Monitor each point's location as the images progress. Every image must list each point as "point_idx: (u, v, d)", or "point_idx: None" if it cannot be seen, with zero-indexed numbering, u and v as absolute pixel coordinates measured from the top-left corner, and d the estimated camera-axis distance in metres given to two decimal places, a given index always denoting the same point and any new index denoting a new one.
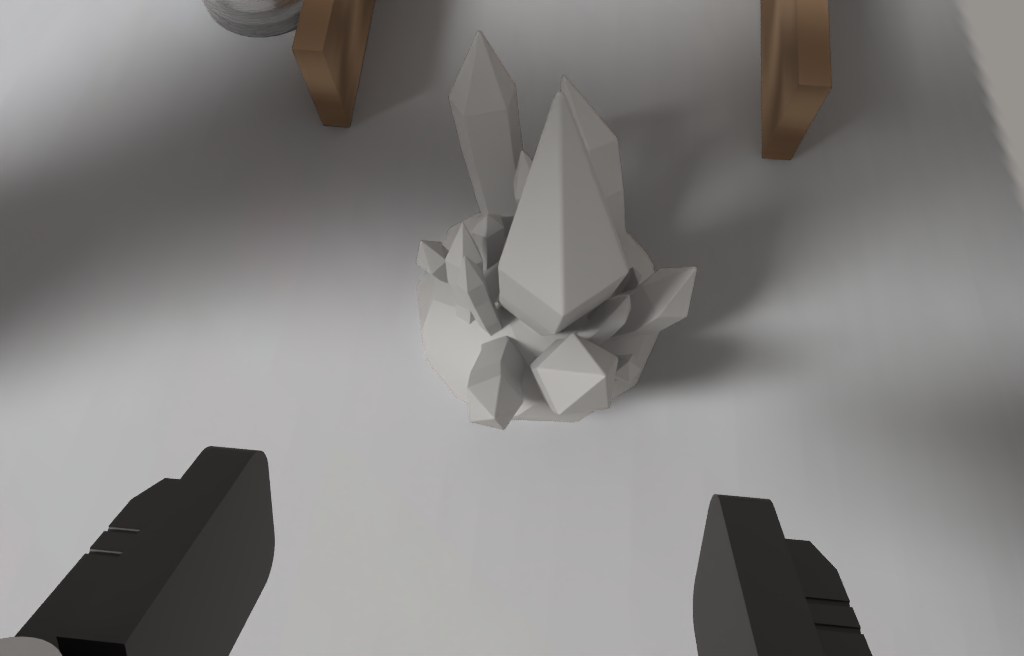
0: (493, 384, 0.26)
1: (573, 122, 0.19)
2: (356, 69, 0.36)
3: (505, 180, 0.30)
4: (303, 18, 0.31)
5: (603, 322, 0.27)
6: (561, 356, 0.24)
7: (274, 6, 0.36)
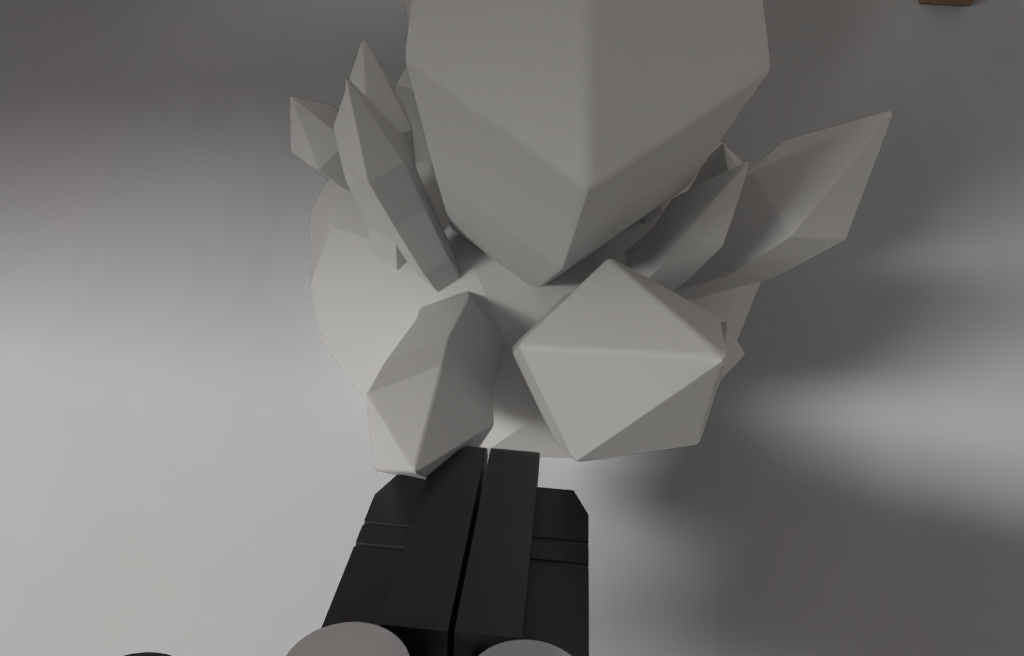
0: (423, 387, 0.11)
1: None
2: None
3: None
4: None
5: (671, 247, 0.12)
6: (580, 314, 0.09)
7: None
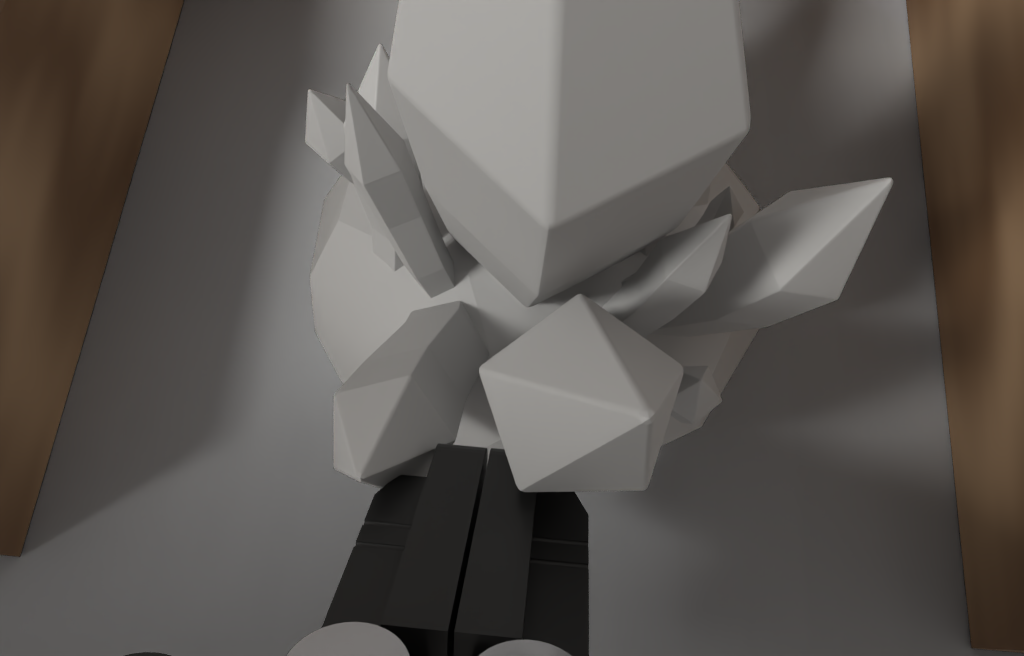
0: (388, 395, 0.11)
1: None
2: (42, 417, 0.16)
3: None
4: None
5: (655, 286, 0.12)
6: (539, 347, 0.09)
7: None
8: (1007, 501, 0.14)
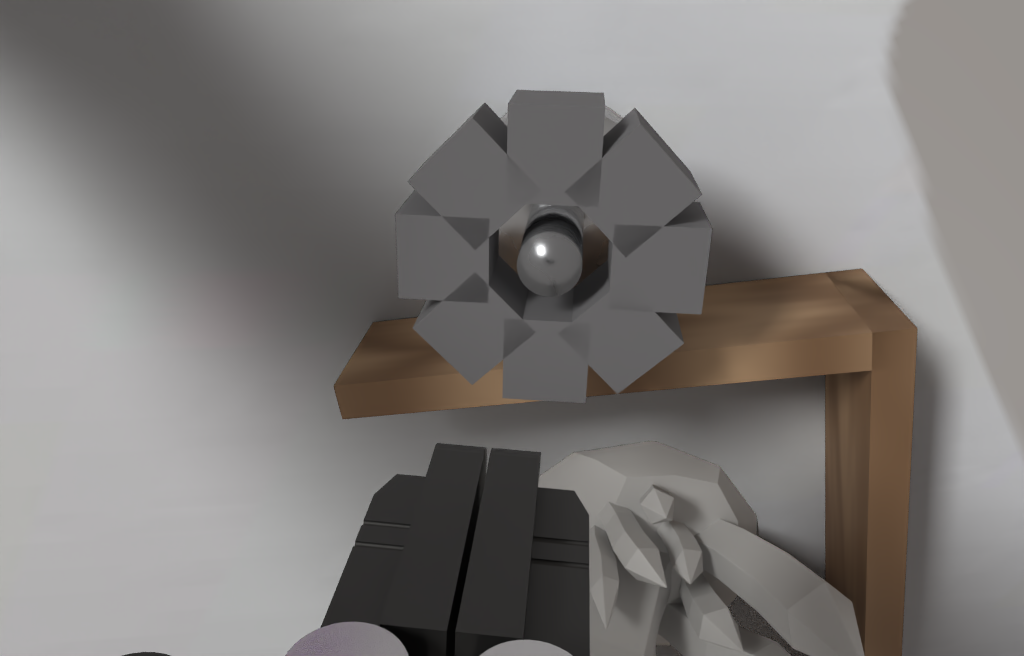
0: None
1: None
2: None
3: (738, 587, 0.28)
4: (379, 386, 0.25)
5: None
6: None
7: None
8: None
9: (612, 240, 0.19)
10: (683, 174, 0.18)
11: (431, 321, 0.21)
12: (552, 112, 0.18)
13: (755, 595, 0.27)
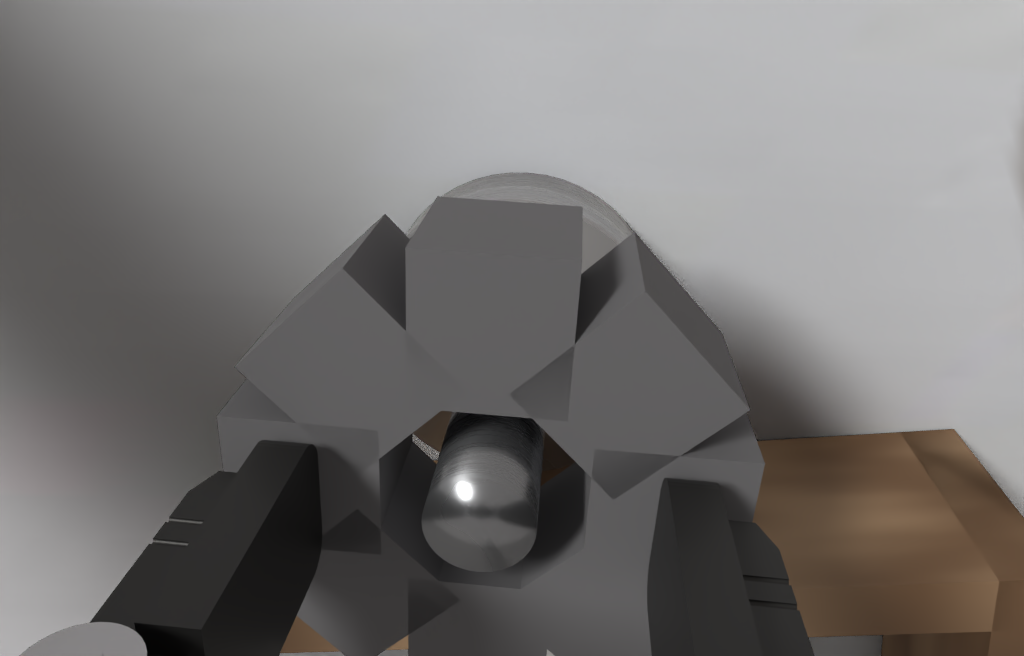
0: None
1: None
2: None
3: None
4: None
5: None
6: None
7: None
8: None
9: (590, 474, 0.11)
10: (719, 376, 0.10)
11: None
12: (485, 266, 0.10)
13: None
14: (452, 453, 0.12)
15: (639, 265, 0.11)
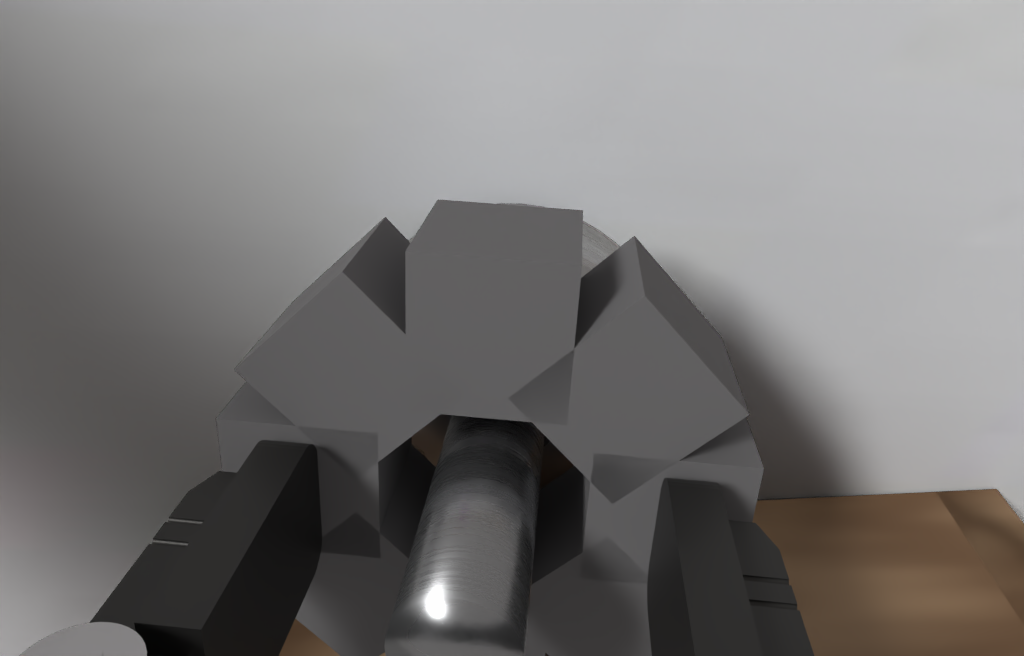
0: None
1: None
2: None
3: None
4: None
5: None
6: None
7: None
8: None
9: (589, 478, 0.11)
10: (718, 380, 0.10)
11: None
12: (486, 270, 0.10)
13: None
14: (424, 558, 0.10)
15: (639, 269, 0.11)
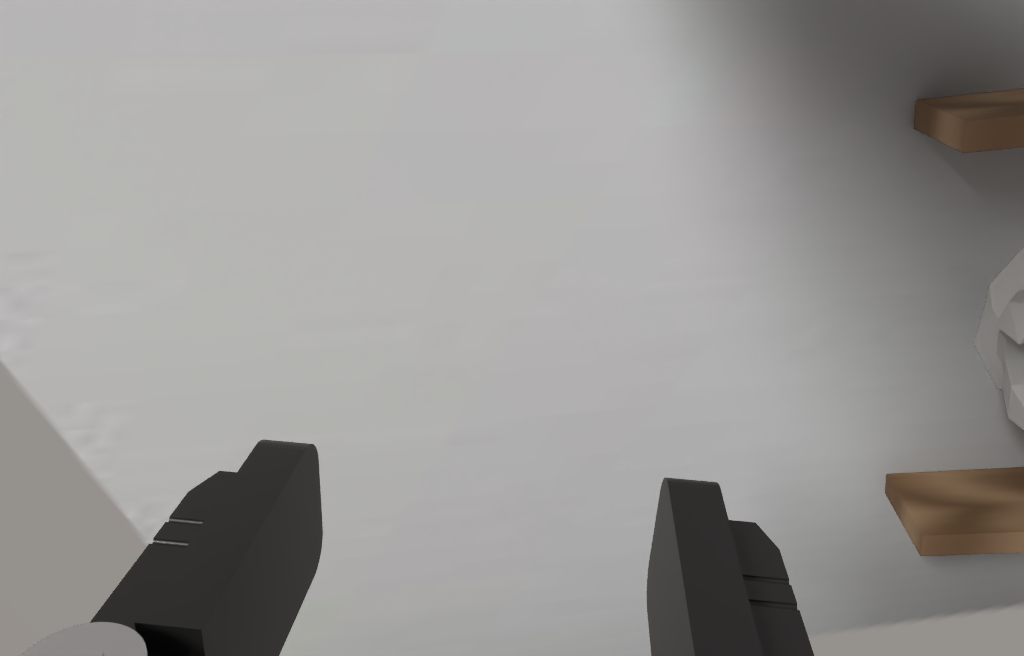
0: None
1: None
2: None
3: None
4: (1007, 121, 0.30)
5: None
6: None
7: None
8: (948, 491, 0.40)
9: None
10: None
11: None
12: None
13: None
14: None
15: None
